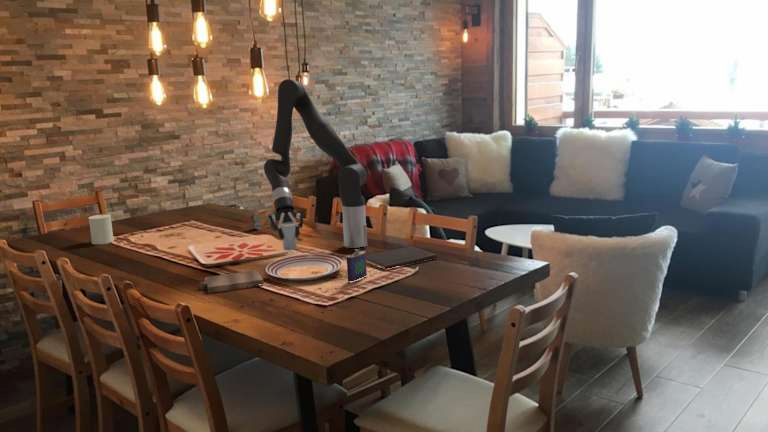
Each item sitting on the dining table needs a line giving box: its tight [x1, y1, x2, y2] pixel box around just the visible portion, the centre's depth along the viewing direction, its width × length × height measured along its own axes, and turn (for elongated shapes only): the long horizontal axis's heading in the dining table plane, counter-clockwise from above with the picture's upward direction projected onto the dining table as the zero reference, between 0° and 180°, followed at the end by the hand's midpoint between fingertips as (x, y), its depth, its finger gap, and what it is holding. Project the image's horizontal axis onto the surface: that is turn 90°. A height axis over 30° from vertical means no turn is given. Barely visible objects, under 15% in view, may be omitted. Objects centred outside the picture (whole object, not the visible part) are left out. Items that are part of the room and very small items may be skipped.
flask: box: [346, 249, 368, 282], centre depth 220 cm, size 9×3×11 cm, turn 144°
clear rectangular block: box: [249, 208, 278, 230], centre depth 303 cm, size 15×3×8 cm, turn 143°
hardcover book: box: [366, 245, 438, 269], centre depth 242 cm, size 16×23×2 cm
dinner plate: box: [265, 253, 344, 281], centre depth 231 cm, size 28×27×3 cm
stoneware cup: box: [281, 221, 298, 251], centre depth 248 cm, size 6×6×10 cm
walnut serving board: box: [199, 270, 264, 294], centre depth 220 cm, size 20×12×2 cm, turn 111°
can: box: [87, 213, 115, 245], centre depth 286 cm, size 9×9×12 cm
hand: (289, 237), depth 246 cm, fingers closed on stoneware cup, 5 cm apart
